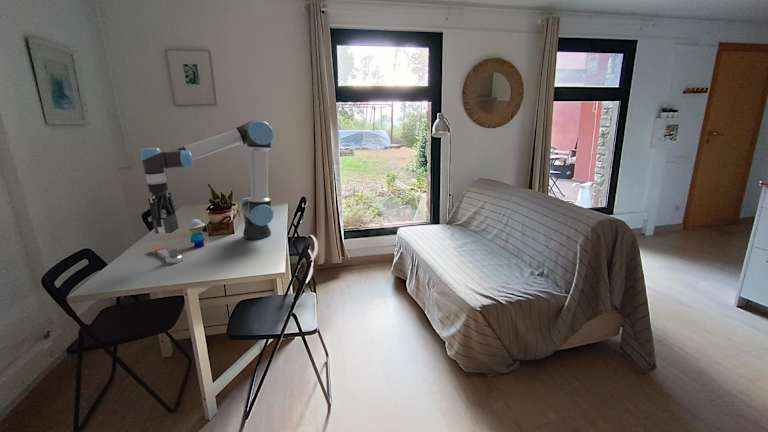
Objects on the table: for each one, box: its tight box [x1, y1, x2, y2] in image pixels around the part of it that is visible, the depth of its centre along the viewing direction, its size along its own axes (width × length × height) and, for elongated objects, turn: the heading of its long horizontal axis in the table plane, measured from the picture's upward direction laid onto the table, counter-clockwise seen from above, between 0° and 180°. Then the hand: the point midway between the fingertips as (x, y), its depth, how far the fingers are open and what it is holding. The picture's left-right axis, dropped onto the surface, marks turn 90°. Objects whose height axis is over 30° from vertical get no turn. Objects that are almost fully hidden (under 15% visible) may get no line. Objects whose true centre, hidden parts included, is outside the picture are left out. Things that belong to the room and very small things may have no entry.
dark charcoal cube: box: [151, 213, 179, 235], centre depth 161 cm, size 7×7×8 cm
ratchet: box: [149, 245, 184, 265], centre depth 172 cm, size 28×7×6 cm, turn 51°
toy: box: [186, 219, 208, 248], centre depth 185 cm, size 8×9×15 cm
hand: (167, 230), depth 162 cm, fingers closed on dark charcoal cube, 7 cm apart
